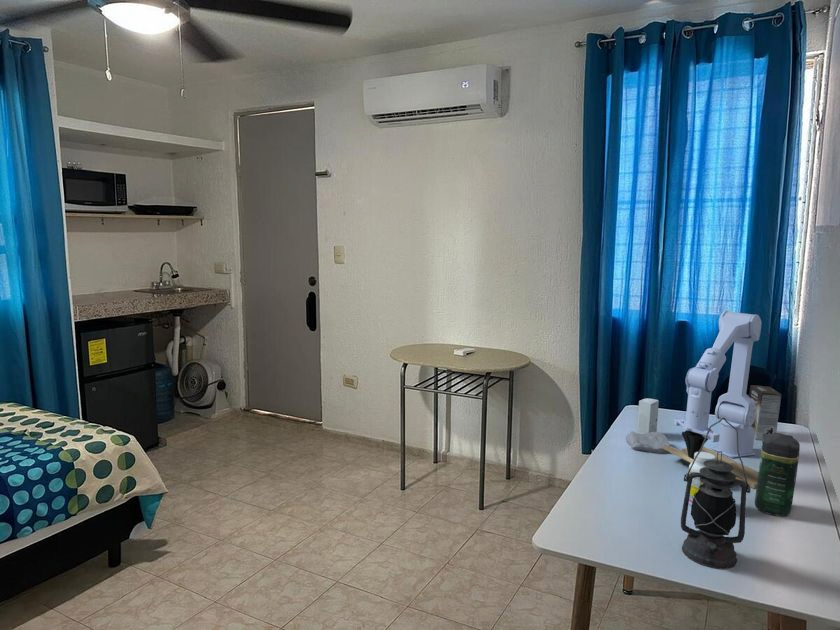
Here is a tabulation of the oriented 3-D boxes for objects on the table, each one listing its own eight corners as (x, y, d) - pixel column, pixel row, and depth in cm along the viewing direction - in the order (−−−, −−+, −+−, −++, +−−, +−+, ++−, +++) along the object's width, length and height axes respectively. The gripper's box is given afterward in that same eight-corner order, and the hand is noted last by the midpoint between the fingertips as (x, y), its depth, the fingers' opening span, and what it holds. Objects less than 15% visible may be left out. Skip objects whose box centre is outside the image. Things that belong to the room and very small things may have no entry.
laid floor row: (702, 449, 186) (703, 446, 185) (776, 485, 161) (777, 480, 161) (682, 452, 183) (682, 448, 183) (754, 488, 159) (754, 484, 159)
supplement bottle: (713, 500, 151) (718, 452, 149) (716, 512, 145) (722, 462, 143) (684, 496, 153) (689, 448, 151) (686, 507, 147) (691, 457, 145)
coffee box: (744, 430, 205) (749, 384, 202) (764, 431, 204) (769, 385, 201) (755, 439, 196) (760, 392, 193) (776, 441, 195) (782, 393, 192)
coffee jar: (790, 521, 142) (800, 446, 139) (752, 511, 146) (761, 438, 143) (793, 505, 150) (802, 434, 147) (757, 496, 154) (765, 427, 151)
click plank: (686, 456, 180) (688, 452, 180) (741, 484, 161) (743, 480, 161) (662, 448, 176) (664, 444, 176) (716, 476, 158) (717, 471, 158)
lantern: (676, 559, 124) (690, 420, 119) (677, 535, 133) (690, 406, 129) (744, 575, 119) (761, 430, 114) (739, 549, 129) (755, 415, 124)
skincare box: (648, 440, 193) (651, 403, 191) (635, 436, 196) (638, 400, 194) (657, 435, 197) (660, 400, 195) (643, 432, 200) (647, 397, 198)
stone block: (672, 460, 182) (662, 442, 191) (674, 446, 180) (664, 429, 190) (631, 459, 183) (624, 441, 192) (633, 445, 181) (625, 428, 191)
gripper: (667, 404, 171) (663, 449, 173) (706, 420, 157) (701, 469, 159) (687, 402, 173) (682, 447, 175) (727, 418, 160) (722, 466, 162)
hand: (692, 457), depth 167 cm, fingers closed, pressing on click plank
